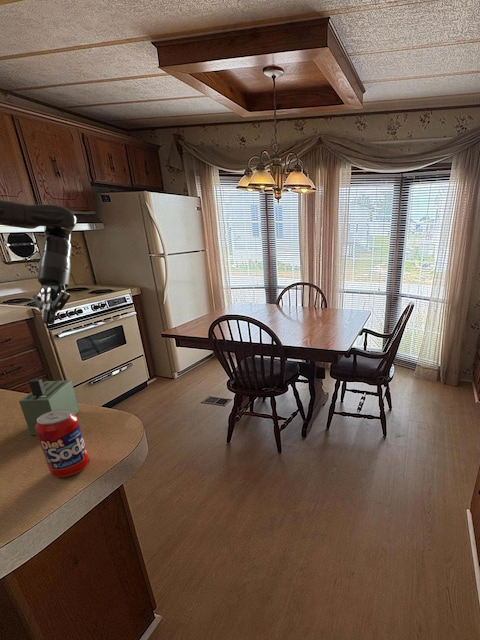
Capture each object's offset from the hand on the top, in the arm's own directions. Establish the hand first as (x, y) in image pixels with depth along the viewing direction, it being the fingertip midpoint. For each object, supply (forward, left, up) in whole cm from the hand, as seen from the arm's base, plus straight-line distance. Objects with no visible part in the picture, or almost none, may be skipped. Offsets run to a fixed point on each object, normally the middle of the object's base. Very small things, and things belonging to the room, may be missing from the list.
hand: (48, 323), depth 104 cm
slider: (-1, -17, -16) cm, 23 cm away
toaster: (-1, -14, -27) cm, 30 cm away
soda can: (+8, -40, -27) cm, 49 cm away
